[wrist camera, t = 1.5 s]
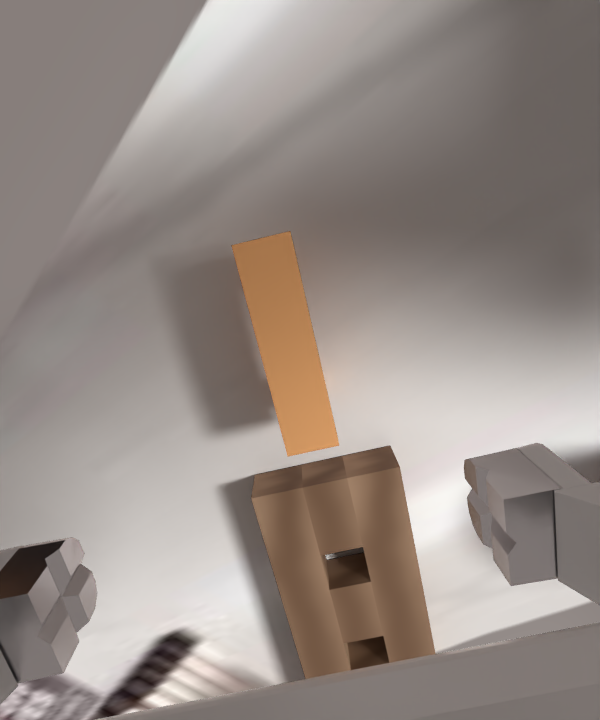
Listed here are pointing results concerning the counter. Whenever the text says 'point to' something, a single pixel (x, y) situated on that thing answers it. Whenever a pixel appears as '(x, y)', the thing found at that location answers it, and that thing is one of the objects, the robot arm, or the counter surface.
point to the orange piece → (286, 342)
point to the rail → (345, 561)
